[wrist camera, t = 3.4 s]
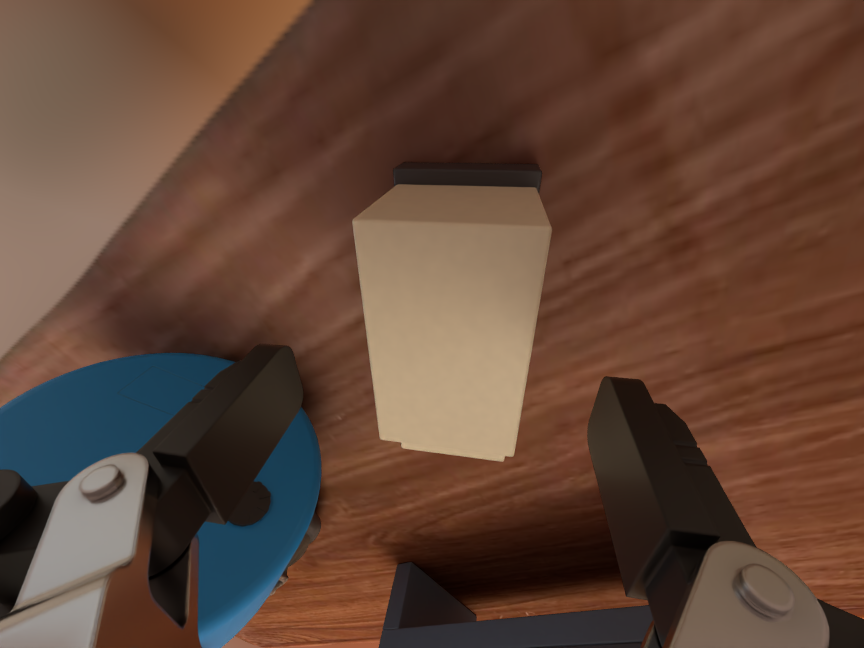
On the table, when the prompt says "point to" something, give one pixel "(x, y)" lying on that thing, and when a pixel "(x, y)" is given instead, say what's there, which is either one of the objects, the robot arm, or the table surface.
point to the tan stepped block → (453, 303)
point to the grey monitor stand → (497, 622)
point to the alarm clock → (131, 429)
